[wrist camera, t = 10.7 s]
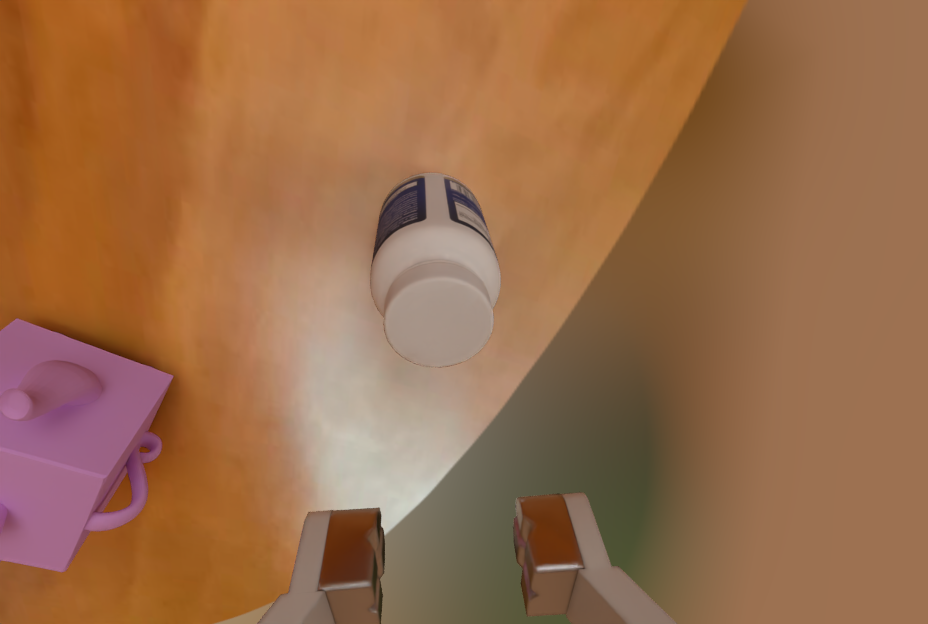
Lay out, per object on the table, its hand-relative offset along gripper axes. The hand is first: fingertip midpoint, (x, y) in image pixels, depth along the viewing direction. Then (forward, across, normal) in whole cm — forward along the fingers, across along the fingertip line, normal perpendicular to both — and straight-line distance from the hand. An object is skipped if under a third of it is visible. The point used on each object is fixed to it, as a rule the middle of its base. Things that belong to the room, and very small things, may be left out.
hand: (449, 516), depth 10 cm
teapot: (+17, +22, +10) cm, 30 cm away
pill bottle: (+17, 0, 0) cm, 17 cm away
